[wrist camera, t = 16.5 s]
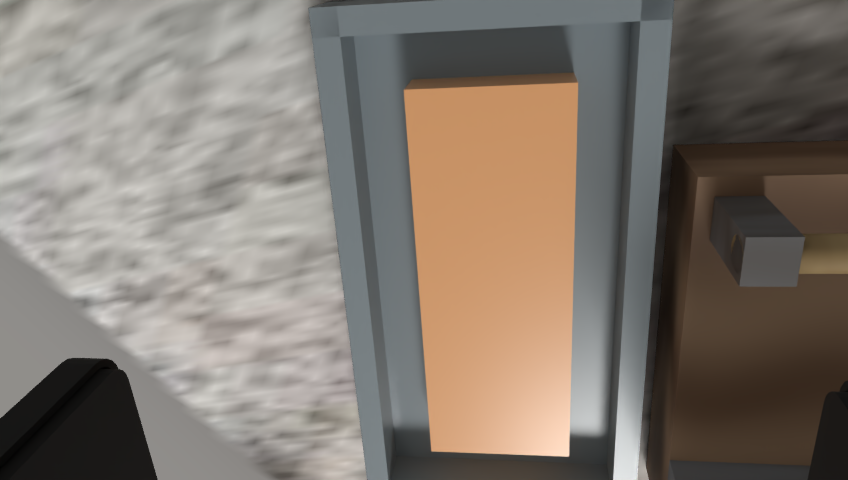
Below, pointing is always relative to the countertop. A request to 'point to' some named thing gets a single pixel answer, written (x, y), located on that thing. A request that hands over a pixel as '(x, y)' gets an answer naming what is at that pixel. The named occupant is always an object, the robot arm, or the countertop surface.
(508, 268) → the orange rectangular block
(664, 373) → the dispenser
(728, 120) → the countertop surface
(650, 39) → the tray
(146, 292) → the countertop surface
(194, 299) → the countertop surface
